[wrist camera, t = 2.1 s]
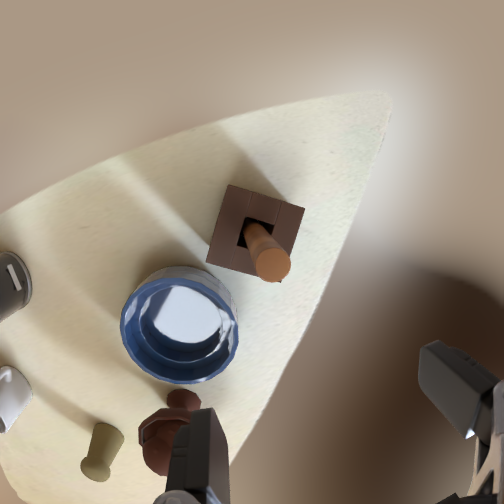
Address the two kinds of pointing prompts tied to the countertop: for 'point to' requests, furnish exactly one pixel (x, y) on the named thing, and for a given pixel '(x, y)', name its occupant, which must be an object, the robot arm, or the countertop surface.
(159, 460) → the ice cream bowl
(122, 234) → the countertop surface
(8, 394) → the mug
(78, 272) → the countertop surface
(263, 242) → the stirring stick
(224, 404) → the countertop surface
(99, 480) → the cork
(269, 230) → the stand
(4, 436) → the countertop surface
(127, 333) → the blue round bowl
